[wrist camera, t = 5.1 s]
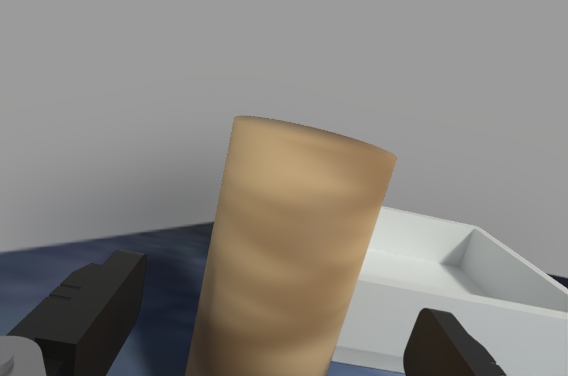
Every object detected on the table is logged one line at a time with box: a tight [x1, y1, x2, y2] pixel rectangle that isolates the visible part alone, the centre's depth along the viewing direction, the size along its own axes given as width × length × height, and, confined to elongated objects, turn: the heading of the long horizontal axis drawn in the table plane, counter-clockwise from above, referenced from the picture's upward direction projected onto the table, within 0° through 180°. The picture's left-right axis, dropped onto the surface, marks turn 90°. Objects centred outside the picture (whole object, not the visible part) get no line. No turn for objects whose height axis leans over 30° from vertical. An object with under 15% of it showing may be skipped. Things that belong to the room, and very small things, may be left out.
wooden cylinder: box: [185, 116, 397, 376], centre depth 13 cm, size 5×5×12 cm
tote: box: [331, 206, 568, 376], centre depth 26 cm, size 18×15×5 cm
